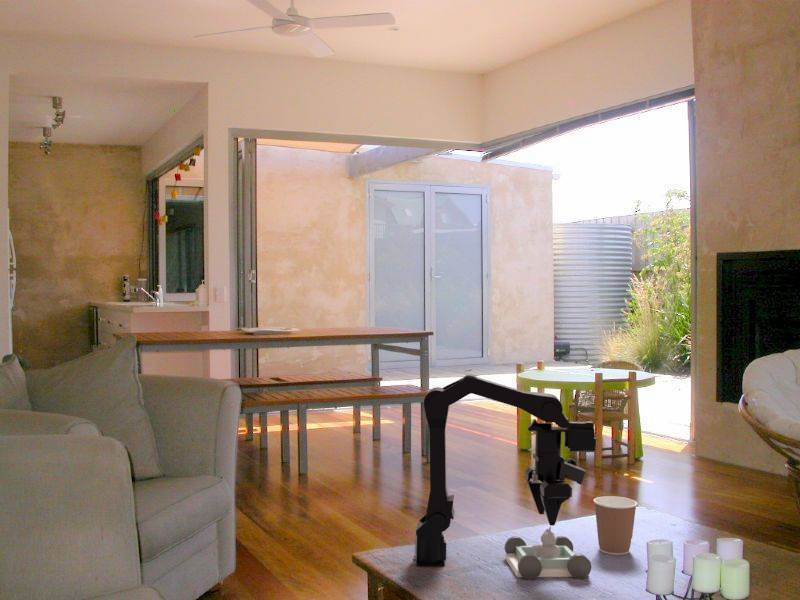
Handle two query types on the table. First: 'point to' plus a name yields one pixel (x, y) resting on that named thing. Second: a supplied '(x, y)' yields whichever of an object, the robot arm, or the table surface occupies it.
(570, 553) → the toy chassis
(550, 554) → the white figurine
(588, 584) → the table surface
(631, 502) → the coffee cup
